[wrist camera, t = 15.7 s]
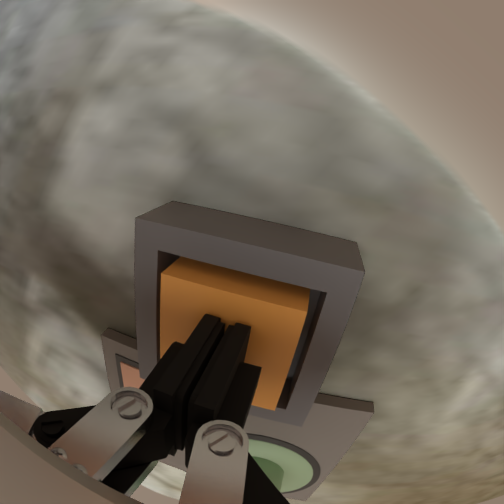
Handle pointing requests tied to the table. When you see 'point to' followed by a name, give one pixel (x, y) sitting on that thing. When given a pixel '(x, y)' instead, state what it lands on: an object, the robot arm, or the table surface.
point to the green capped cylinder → (271, 471)
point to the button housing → (257, 263)
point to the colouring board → (268, 426)
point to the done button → (236, 316)
